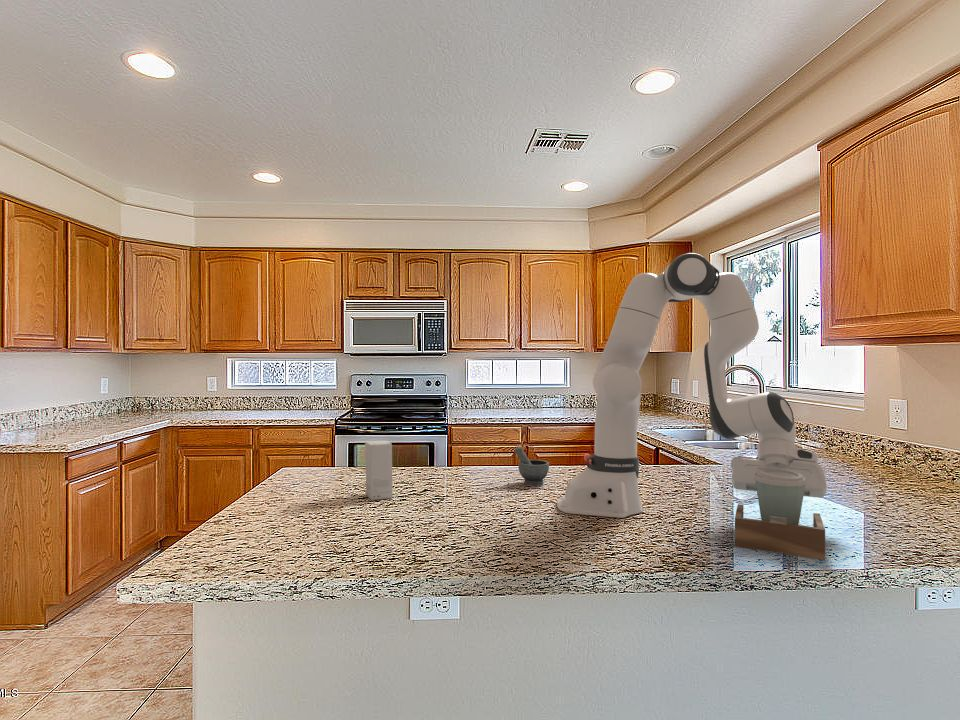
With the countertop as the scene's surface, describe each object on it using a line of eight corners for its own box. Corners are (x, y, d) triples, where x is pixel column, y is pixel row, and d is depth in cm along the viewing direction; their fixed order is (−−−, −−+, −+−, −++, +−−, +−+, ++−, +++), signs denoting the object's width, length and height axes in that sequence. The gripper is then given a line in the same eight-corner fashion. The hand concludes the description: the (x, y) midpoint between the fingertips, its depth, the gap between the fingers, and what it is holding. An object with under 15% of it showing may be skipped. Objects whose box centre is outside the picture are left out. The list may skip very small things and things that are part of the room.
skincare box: (392, 498, 154) (393, 443, 154) (369, 501, 152) (369, 444, 151) (386, 492, 162) (387, 439, 162) (364, 494, 159) (364, 440, 159)
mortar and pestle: (546, 480, 179) (547, 444, 179) (551, 487, 169) (551, 448, 169) (512, 480, 178) (512, 444, 178) (515, 487, 169) (515, 448, 169)
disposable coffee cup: (811, 536, 124) (812, 470, 124) (800, 548, 116) (800, 477, 116) (760, 526, 131) (761, 464, 131) (746, 537, 123) (747, 470, 123)
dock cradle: (737, 529, 128) (737, 498, 128) (819, 540, 121) (819, 508, 121) (734, 546, 117) (734, 512, 117) (824, 559, 109) (825, 524, 109)
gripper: (731, 447, 140) (728, 494, 131) (825, 454, 131) (829, 505, 122) (731, 462, 144) (729, 508, 135) (823, 469, 135) (826, 519, 126)
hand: (777, 507), depth 129 cm, fingers closed, pressing on disposable coffee cup
